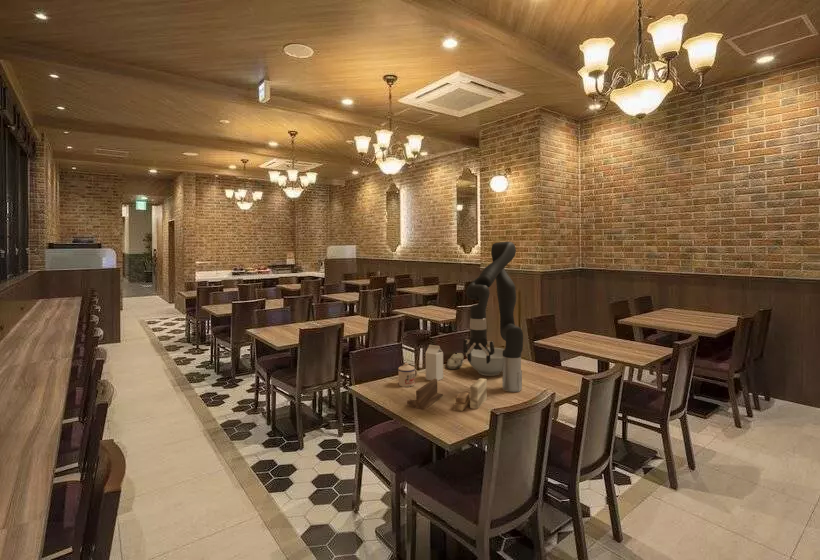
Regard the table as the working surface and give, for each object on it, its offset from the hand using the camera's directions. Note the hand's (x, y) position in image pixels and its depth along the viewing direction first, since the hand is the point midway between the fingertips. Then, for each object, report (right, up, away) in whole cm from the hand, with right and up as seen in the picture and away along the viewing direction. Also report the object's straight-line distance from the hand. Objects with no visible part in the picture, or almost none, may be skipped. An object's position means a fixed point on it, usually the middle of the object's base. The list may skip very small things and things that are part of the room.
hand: (478, 362), depth 202 cm
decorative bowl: (+14, -16, +51) cm, 56 cm away
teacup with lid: (-33, -18, +32) cm, 49 cm away
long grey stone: (-3, -15, +75) cm, 77 cm away
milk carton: (-18, -17, +41) cm, 48 cm away
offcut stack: (-8, -20, -2) cm, 21 cm away
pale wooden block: (0, -20, +1) cm, 20 cm away
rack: (-25, -19, +6) cm, 32 cm away
